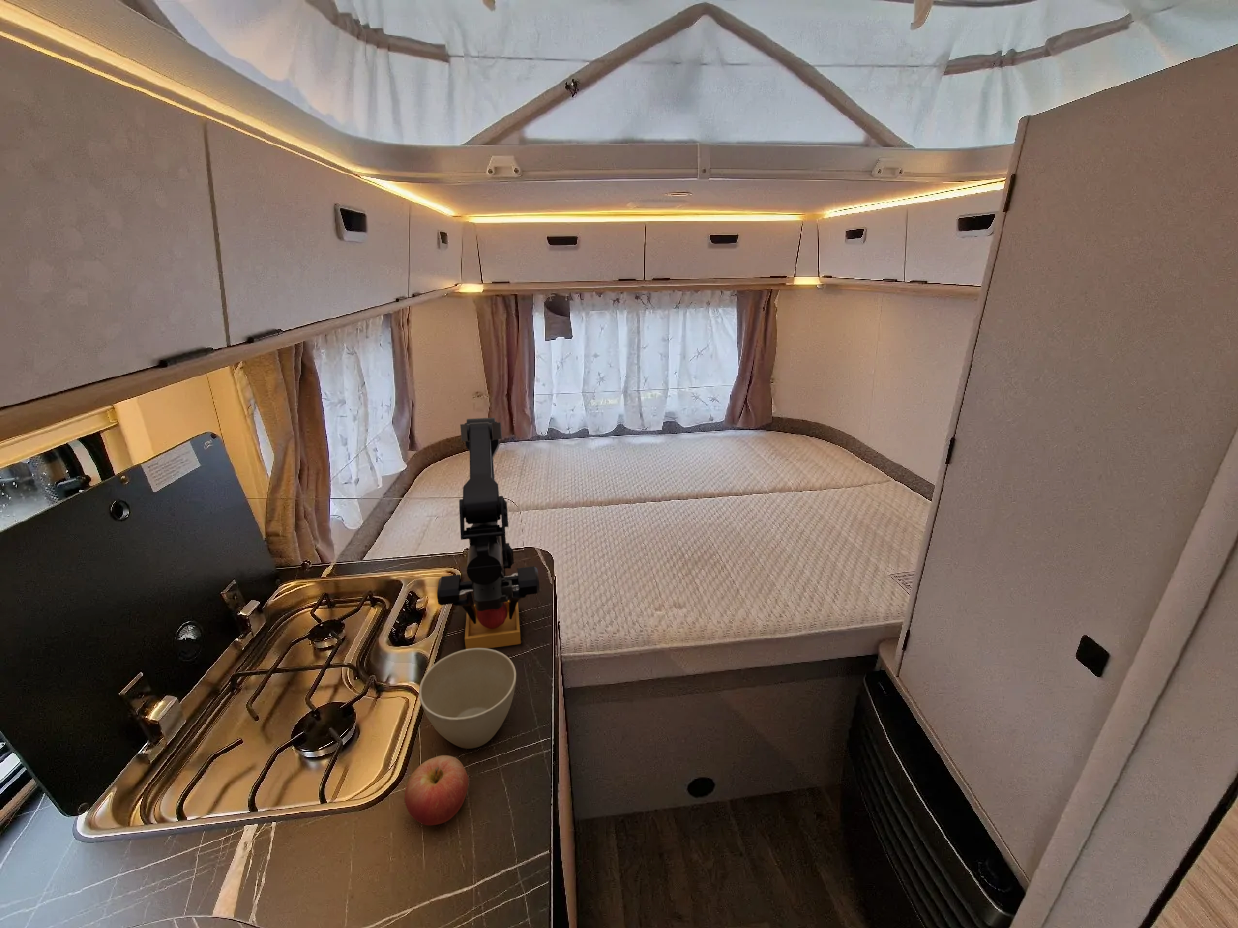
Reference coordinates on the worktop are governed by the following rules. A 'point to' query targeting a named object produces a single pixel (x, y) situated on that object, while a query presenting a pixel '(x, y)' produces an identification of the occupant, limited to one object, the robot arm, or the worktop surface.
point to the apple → (436, 790)
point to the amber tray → (493, 632)
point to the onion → (492, 617)
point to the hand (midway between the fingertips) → (492, 620)
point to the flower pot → (468, 695)
